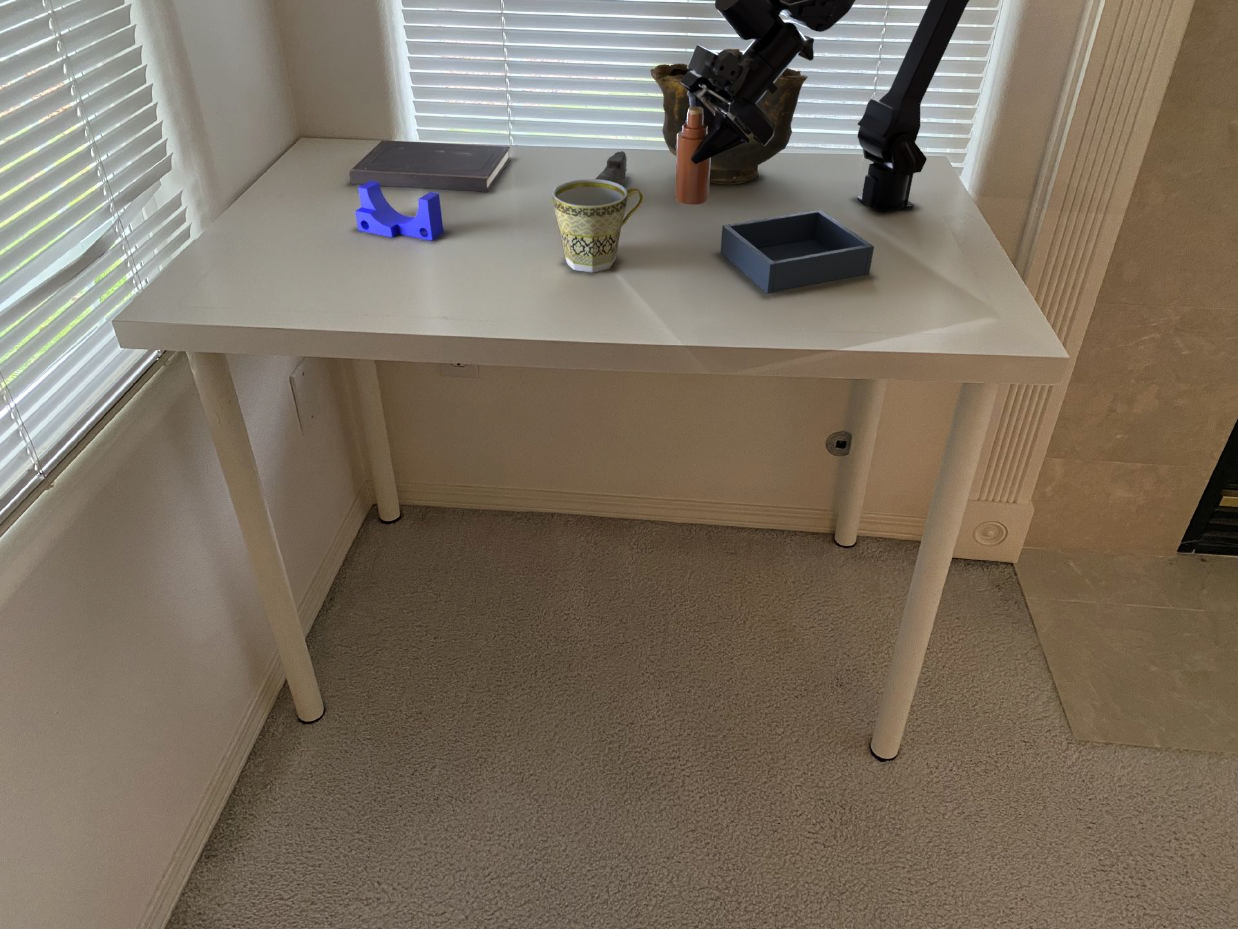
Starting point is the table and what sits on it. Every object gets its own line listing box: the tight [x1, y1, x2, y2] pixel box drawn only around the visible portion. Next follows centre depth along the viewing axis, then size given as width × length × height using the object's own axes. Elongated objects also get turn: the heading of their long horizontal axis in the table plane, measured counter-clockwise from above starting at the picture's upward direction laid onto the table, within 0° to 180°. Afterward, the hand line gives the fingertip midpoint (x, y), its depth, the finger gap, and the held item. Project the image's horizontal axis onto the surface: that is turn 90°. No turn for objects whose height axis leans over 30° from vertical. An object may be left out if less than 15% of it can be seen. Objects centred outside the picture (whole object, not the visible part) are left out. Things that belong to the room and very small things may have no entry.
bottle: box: [674, 107, 711, 206], centre depth 130 cm, size 5×5×12 cm
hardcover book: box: [348, 139, 512, 193], centre depth 157 cm, size 16×23×2 cm
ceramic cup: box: [551, 178, 644, 273], centre depth 127 cm, size 13×10×10 cm
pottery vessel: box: [650, 48, 808, 185], centre depth 151 cm, size 25×11×20 cm, turn 96°
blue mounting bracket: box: [354, 181, 444, 242], centre depth 136 cm, size 12×4×6 cm, turn 65°
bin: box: [720, 209, 875, 295], centre depth 128 cm, size 16×14×4 cm
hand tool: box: [594, 150, 628, 186], centre depth 149 cm, size 19×4×5 cm, turn 160°
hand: (684, 155), depth 130 cm, fingers closed on bottle, 5 cm apart
